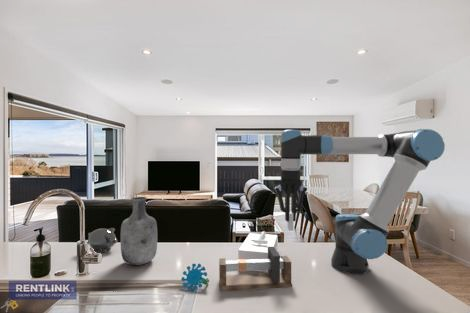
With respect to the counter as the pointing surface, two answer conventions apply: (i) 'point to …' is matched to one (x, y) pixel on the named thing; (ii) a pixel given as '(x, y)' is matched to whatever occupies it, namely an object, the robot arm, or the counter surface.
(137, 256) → the vase
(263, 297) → the counter surface
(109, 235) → the piggy bank
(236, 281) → the wooden stand
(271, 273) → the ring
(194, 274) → the gear
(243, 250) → the white pegged block
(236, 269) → the light grey bar
